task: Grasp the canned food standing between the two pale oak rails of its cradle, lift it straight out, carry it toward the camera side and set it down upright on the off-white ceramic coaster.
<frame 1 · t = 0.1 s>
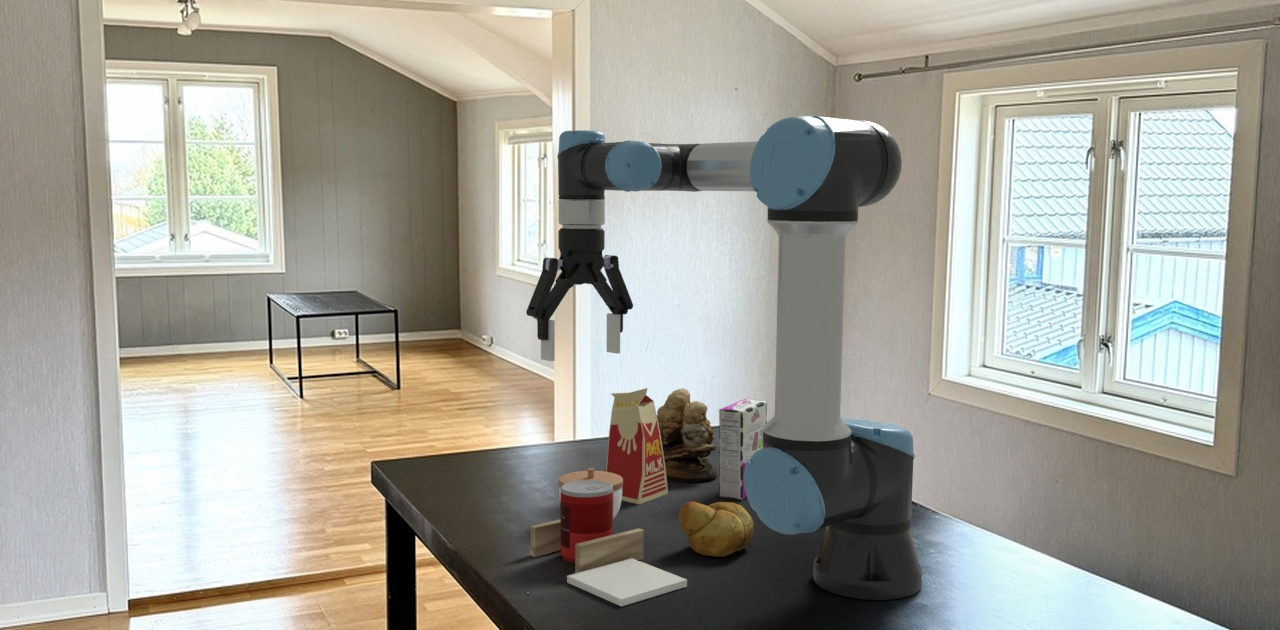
hand: (581, 356, 187), 28 cm above the table, fingers open, 13 cm apart
milk carton: (633, 496, 206), on the table
coaster: (626, 584, 160), on the table
canned food: (586, 558, 172), on the table
bread roll: (722, 549, 176), on the table
candy bar box: (742, 493, 209), on the table
cradle: (586, 557, 172), on the table
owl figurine: (683, 474, 223), on the table
lidded jar: (590, 525, 189), on the table
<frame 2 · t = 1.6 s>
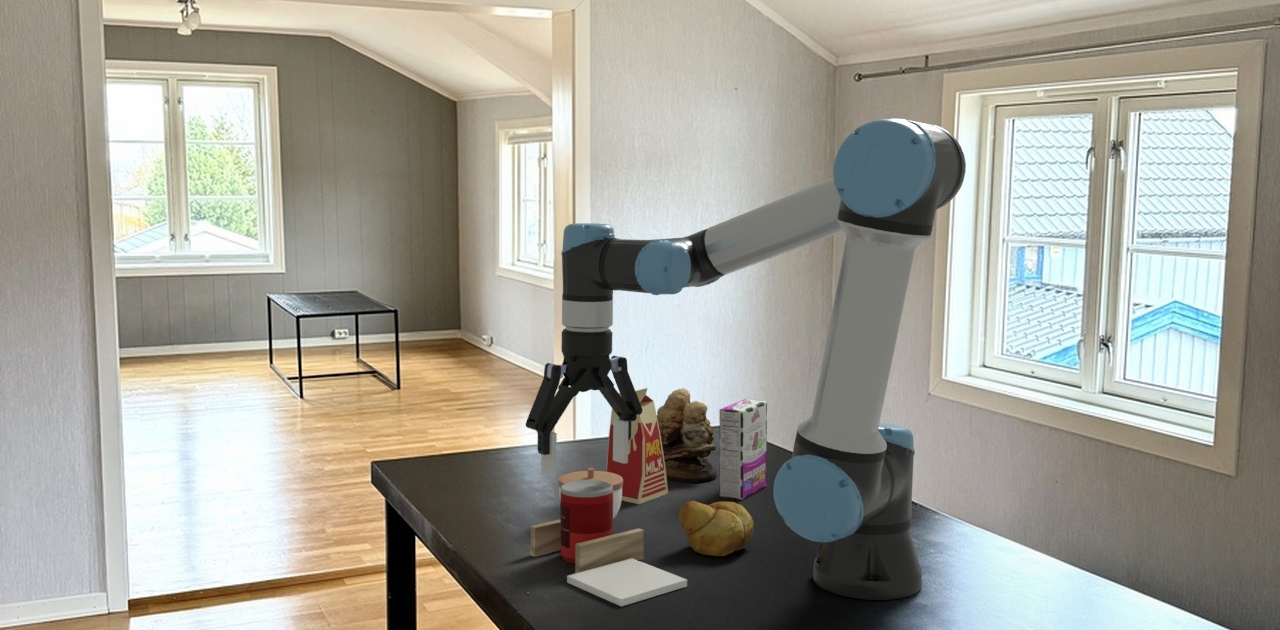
hand: (585, 468, 170), 14 cm above the table, fingers open, 13 cm apart
nothing on the table moved.
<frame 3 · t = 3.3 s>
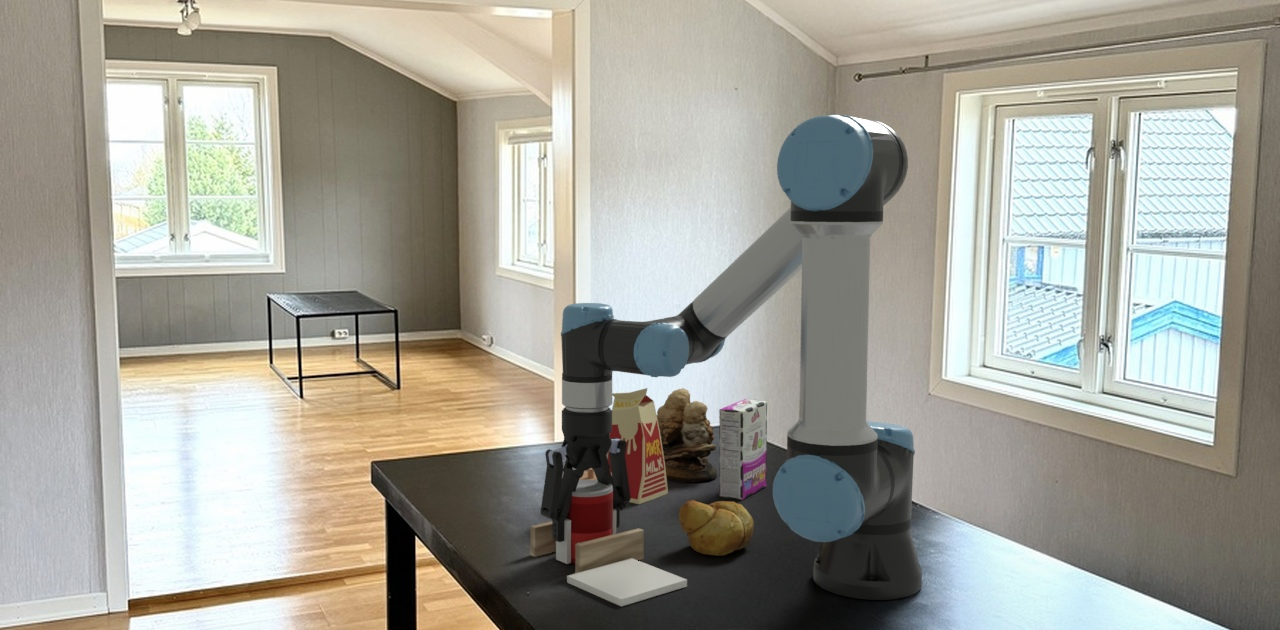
hand: (586, 555, 172), 0 cm above the table, fingers closed on canned food, 8 cm apart
canned food: (586, 558, 172), on the table, touching gripper
everything else where it was.
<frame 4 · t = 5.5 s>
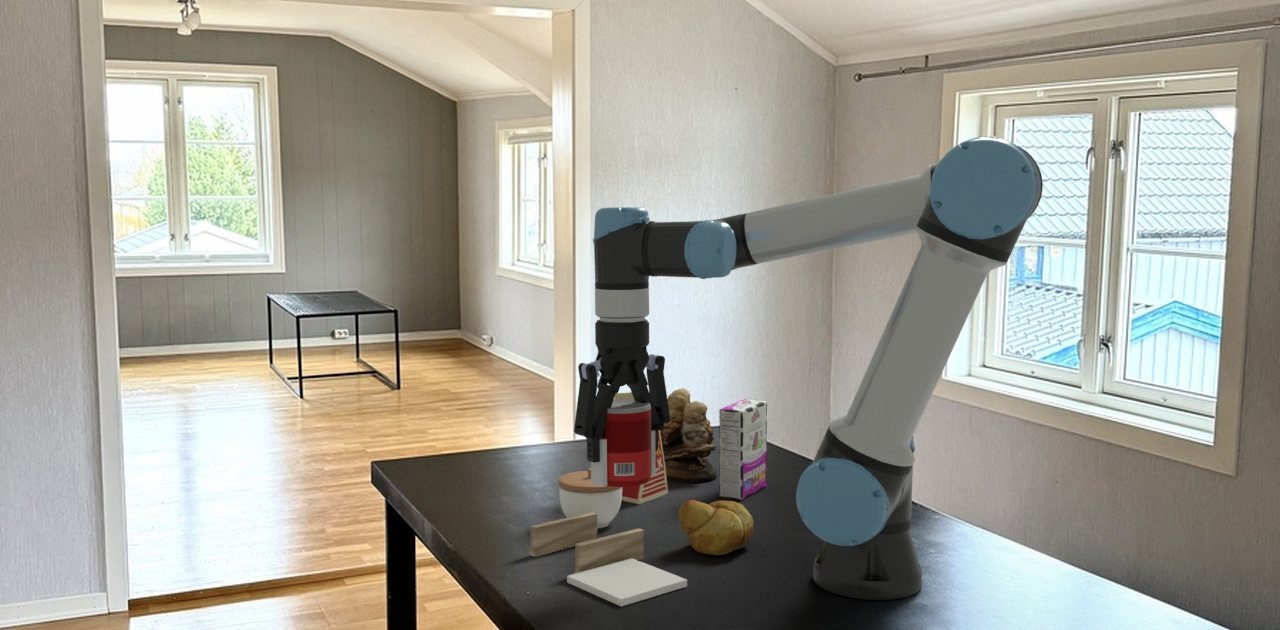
hand: (623, 478, 160), 15 cm above the table, fingers closed on canned food, 8 cm apart
canned food: (623, 482, 160), point 14 cm above the table, touching gripper
everything else where it was.
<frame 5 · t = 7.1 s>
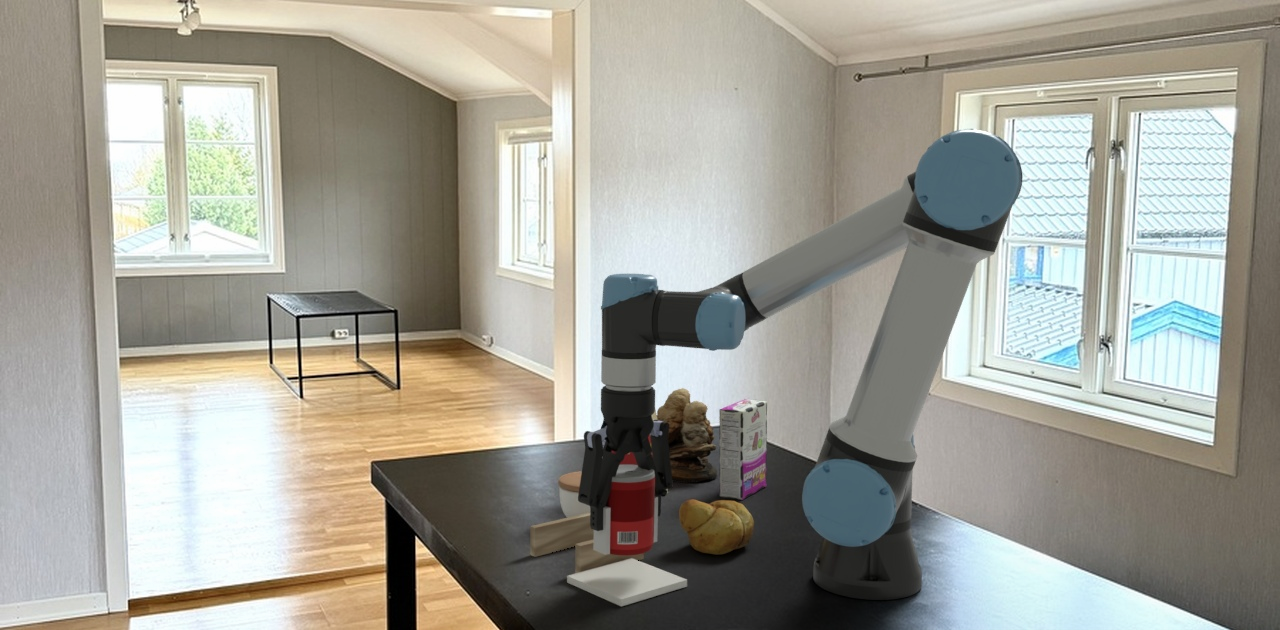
hand: (625, 545, 159), 6 cm above the table, fingers closed on canned food, 8 cm apart
canned food: (625, 548, 159), point 5 cm above the table, touching gripper
everything else where it was.
when the fingers open (3 cm above the table, at t = 8.0 s): canned food drops 1 cm, resting on coaster.
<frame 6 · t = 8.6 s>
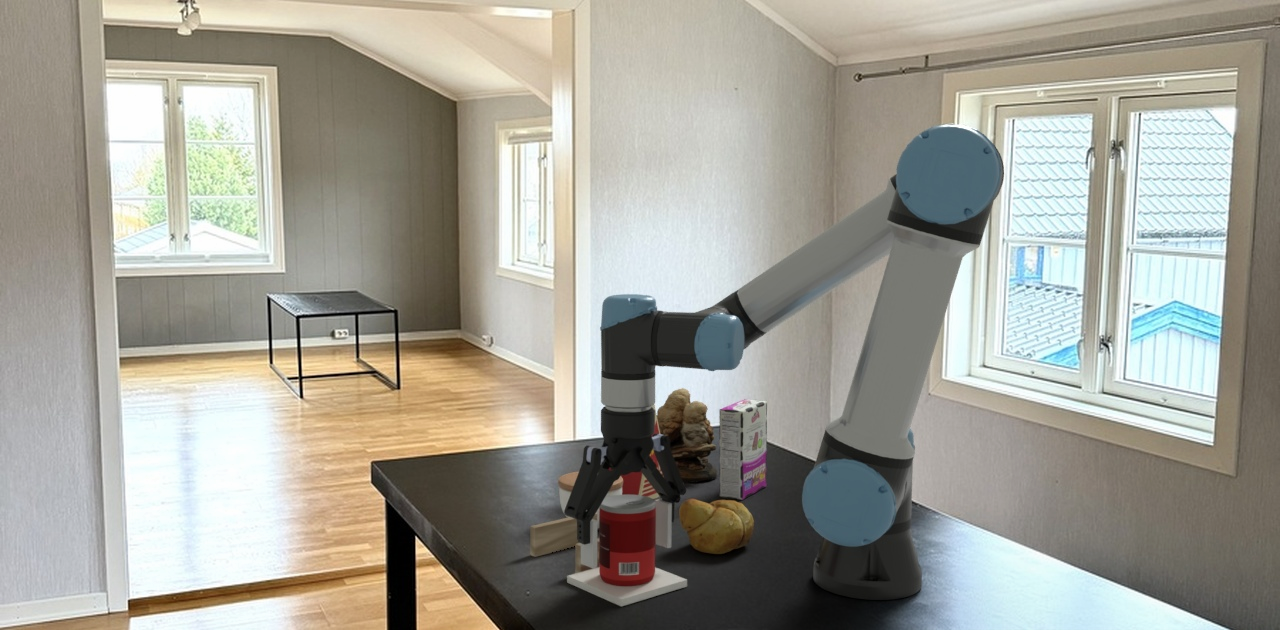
hand: (627, 555, 159), 4 cm above the table, fingers open, 13 cm apart
canned food: (627, 579, 160), point 1 cm above the table, touching coaster
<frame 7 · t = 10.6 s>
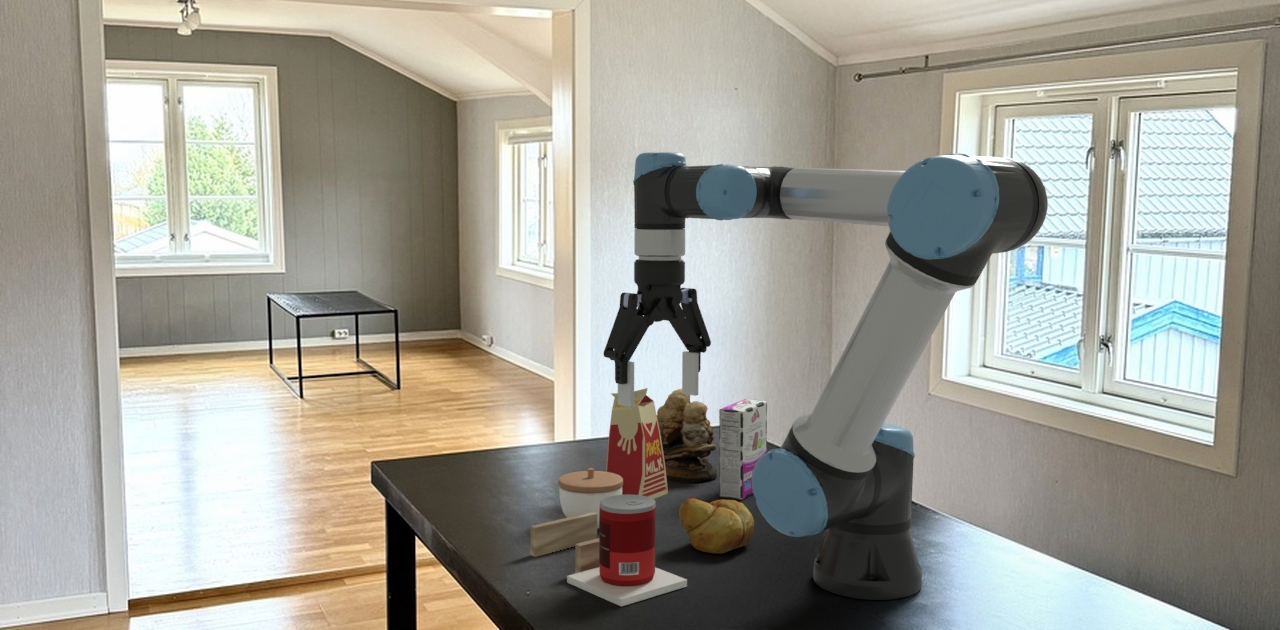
hand: (658, 400, 170), 24 cm above the table, fingers open, 13 cm apart
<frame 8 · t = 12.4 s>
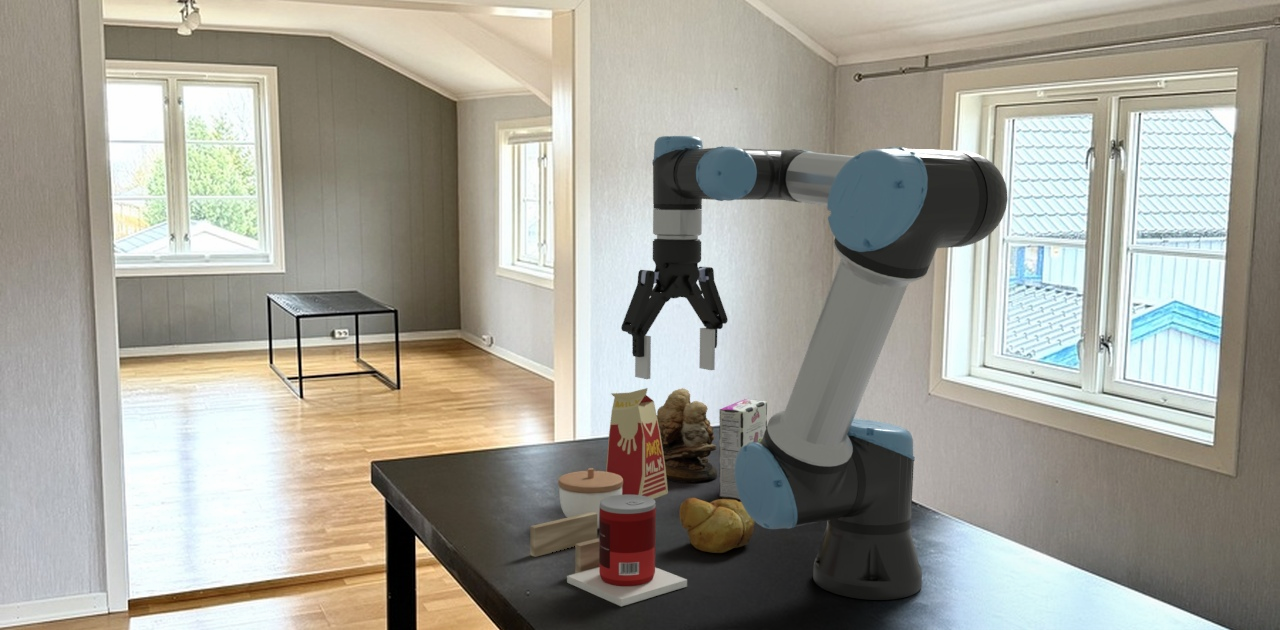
hand: (675, 373, 177), 27 cm above the table, fingers open, 13 cm apart
at the end: canned food inside the target area on the coaster (0.0 cm from its centre), point 0.8 cm above the coaster's base; canned food tilted 0°; the gripper is holding nothing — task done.
